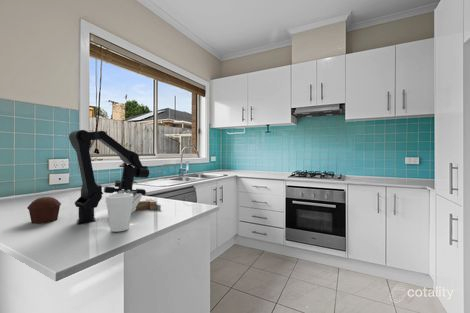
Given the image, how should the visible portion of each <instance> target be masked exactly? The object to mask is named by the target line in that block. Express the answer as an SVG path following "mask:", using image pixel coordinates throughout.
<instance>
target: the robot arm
mask: <svg viewBox="0 0 470 313" xmlns="http://www.w3.org/2000/svg"><path fill="white" fill-rule="evenodd" d="M68 139H69V142H70V144H71V146H72V147H73V149H74V151H75V152H76V157H77V162H78V168H79V171H80V172H79V173H80V177H81V183H82V185H81V189H80V196H79V198H78V199H77V200H75V201H74V205H75V207H76V208H78V219H77V222H76V224H77V225H80V224H88V223H93V222H94V223H95V222H96V217H95V208H98V205H99V202H100V201H101V200H102V199H103V195H104V193H105V194H114V193H116V194H123V193H129V194H133V193H138V194H139V193H141V194H142V196H146V193H147V191H146V190H145V189H143V188H135V189H133V185H134V182H135V178H136V179H147V178H149V176H150V171H149V170H150V169H149V168H148V166H147V165H143V164H142V162H141V160H140V156H139V154H138V153H137V152H135V151H133V150H131V149H129V148H126V147H124V146H123V145H122V144H121V143H119V142H118V141H117V140H116V139H114V138H113V137H112V136H111V135H109V134H108V133H107V132H106V131H104V130H97V131H88V130H85V129H78V130H73V131H71V132H70V133H69V135H68ZM97 140H98V141H99V142H100V143H102V144H103V145H105V146H106V147H107V148H109V149H110V150H111V151H112V152H113V153H115V154H117V155H118V157H119V158H120V160H121V161H122V164H120V165H119V168H122V174H121V179H120V180H118V179H117V180H115V183H114V186H109V185H108V186H107V185H106V186H104V187H102V185H100V184H97V183H96V180H95V175H94V169H93V164H92V163H93V162H92V158H91V154H90V149H91V145H92V141H97ZM102 188H103V189H102Z"/></svg>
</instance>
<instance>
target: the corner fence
mask: <svg viewBox="0 0 470 313" xmlns="http://www.w3.org/2000/svg"><path fill="white" fill-rule="evenodd" d="M156 203H157V204H156V209H155V210H157V211H158V212H159V211H161V209H162V208H161V206H162V204H159V203H158V202H156Z"/></svg>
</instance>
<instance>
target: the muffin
mask: <svg viewBox="0 0 470 313" xmlns="http://www.w3.org/2000/svg"><path fill="white" fill-rule="evenodd" d="M61 205H62V203H61V202H60V201H59V200H58V199H57V198H55V197H51V196H44V197H39V198H36V199H34V200H33V201H32V202H30V204H29V205H28V206H27V207H26V208H27V210H28V213H29V217H30V218H29V219H30V222H31V224H38V225H39V224H47V223H50V222H51V223H52V222H54V221H55V222H56V221H57V220H58V218H59V212H60V207H61Z"/></svg>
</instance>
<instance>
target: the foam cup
mask: <svg viewBox="0 0 470 313" xmlns="http://www.w3.org/2000/svg"><path fill="white" fill-rule="evenodd" d="M132 202H133V194H129V193H123V194H117V193H111V194H107V195H105V203H106V210H107V216H108V223H109V228H110V232H116V233H117V232H124V231H126V230H128V229H129V227H130V222H131V215H132V212H131V209H132Z"/></svg>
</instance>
